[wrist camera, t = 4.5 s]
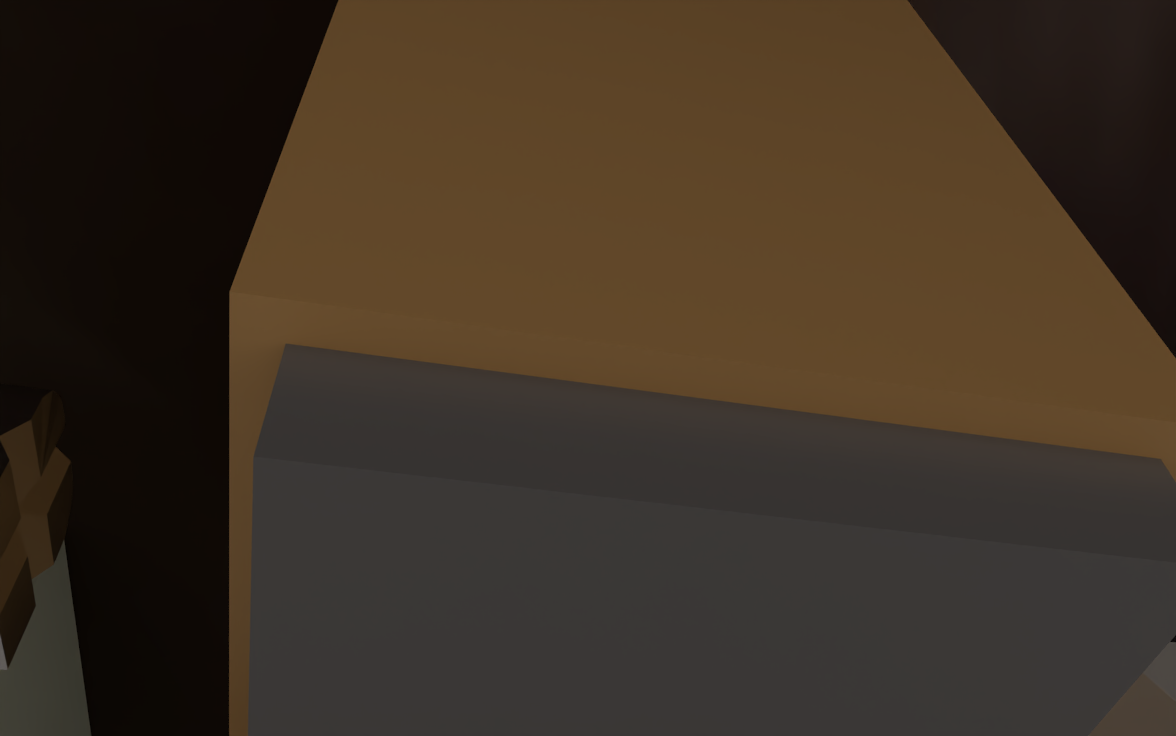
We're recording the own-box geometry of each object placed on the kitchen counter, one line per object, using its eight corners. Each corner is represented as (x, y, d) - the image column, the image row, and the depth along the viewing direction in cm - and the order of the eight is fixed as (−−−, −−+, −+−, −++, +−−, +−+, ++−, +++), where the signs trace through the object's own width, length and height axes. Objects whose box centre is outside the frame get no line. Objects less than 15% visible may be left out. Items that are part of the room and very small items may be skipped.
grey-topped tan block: (820, -116, 11) (1309, 538, 4) (605, 554, 17) (656, 1256, 10) (414, -203, 10) (191, 403, 3) (343, 526, 16) (214, 1255, 9)
